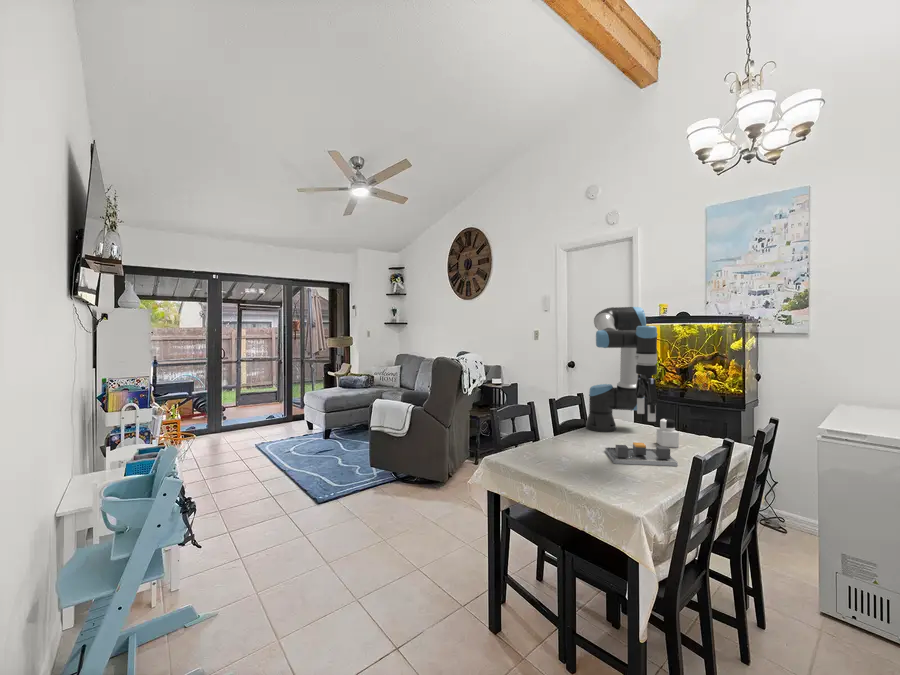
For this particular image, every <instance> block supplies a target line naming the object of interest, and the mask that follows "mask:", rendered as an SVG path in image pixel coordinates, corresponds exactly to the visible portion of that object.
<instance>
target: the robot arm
mask: <svg viewBox="0 0 900 675" xmlns="http://www.w3.org/2000/svg"><path fill="white" fill-rule="evenodd" d="M593 325H594V328H596V329H597V331H595V345H596V347H597V348H601V349H602V348H603V349H614V348H616V349H620V364H619V365H620V368H619V369H620V372H619V373H620V375H619V378H620V379H619V381H618V383H616V387H614V386H613V385H612V384H610V383H609V384H607V383H603V384H602V383H601V384H596V385H592V386H590V388H589V392H588V393H589V394H588V396H589V397H588V398H589V405H588V406H589V407H588V409H589V411H588V416H587V420H586V421H585V428H586V429H587V428H588V429H587V430H589V431H594V432H600V433H601V432H603V433H605V432H607V433H608V432H614V431H616V430H617V425H616V421H615V418H614V416H613V411H615V410H616V411H617V410H618V411H631V412H632V411H636V413H637V415H645V398H647V403H646V405H647V422H651V423H653V422H654V423H655V422H656V421H657V417H656V416H657V405H658V404H659V399H658V392H657V385H656V384H657V382H656V381H657V380H656V378H653V376H655V375H657V374H658V373H657V371H658V368H657V367H658V366H657V365H656V364H657V363H658V353H657V352H658V345H657V344H658V329H657V326H655V325H647V320H646V313H645V311H644V309H643V307H640V306H623V307H621V306H620V307H619V306H618V307H614V306H613V307H607V308H605V309H602V310H600V311H599V312H597V314H595V316H594V318H593ZM645 393H646V396H645Z"/></svg>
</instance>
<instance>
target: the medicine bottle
mask: <svg viewBox="0 0 900 675" xmlns="http://www.w3.org/2000/svg"><path fill="white" fill-rule="evenodd" d="M655 432H656V439H655V440H656V444H658V446H667V447H668V448H679V447H680V446H679V444H680V443H679V442H680V432H679V431H677V430H676V421H675V420H674V419H671V418H661V419H660V422H659V427H656V431H655Z"/></svg>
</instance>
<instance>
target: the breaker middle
mask: <svg viewBox="0 0 900 675" xmlns="http://www.w3.org/2000/svg"><path fill="white" fill-rule="evenodd" d="M646 445H647V444H645V443H644V442H632V448H633V452H634V454H635V455H646V449H647V446H646Z"/></svg>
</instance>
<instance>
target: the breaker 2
mask: <svg viewBox="0 0 900 675" xmlns="http://www.w3.org/2000/svg"><path fill="white" fill-rule="evenodd" d="M655 449H656V456H657V457H658V458H659V459H670V456H671V449H670V447H667V446H660V445H656V446H655Z"/></svg>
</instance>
